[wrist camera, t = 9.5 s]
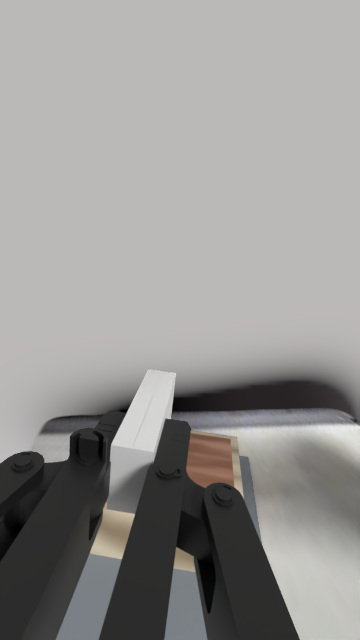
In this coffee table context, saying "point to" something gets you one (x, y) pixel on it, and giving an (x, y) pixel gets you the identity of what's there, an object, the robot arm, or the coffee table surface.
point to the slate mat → (184, 604)
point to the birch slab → (202, 467)
